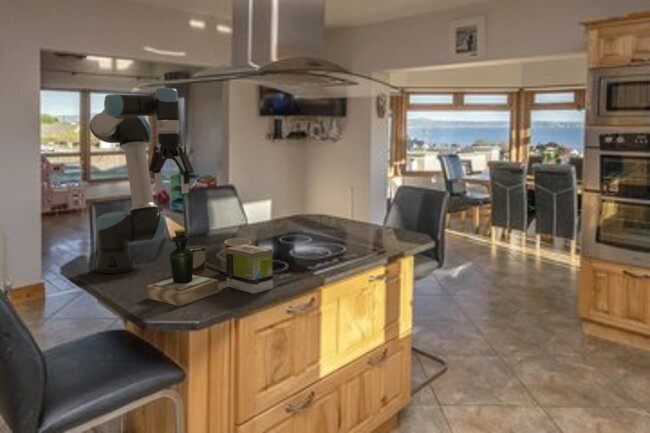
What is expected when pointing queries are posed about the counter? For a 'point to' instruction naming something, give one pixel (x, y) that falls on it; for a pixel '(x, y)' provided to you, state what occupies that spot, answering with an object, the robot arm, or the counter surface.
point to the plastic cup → (236, 242)
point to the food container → (198, 258)
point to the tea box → (249, 268)
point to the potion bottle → (181, 259)
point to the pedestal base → (182, 290)
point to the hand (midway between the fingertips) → (171, 191)
